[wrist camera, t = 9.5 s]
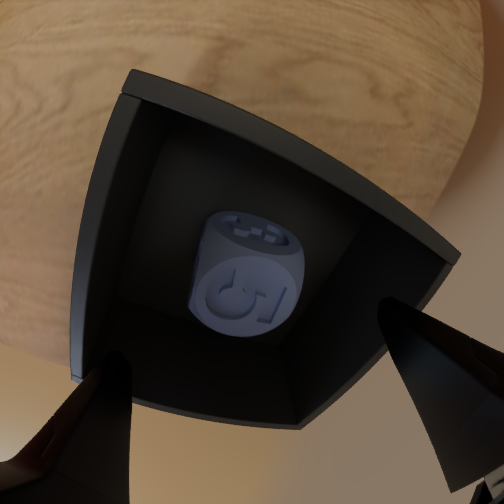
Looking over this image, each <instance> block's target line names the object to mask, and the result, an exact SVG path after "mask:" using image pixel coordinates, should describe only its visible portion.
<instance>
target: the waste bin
mask: <svg viewBox="0 0 504 504" xmlns="http://www.w3.org/2000/svg"><path fill="white" fill-rule="evenodd" d="M121 92H122V93H121V94H120V95H119V97H118V99H117V102H116V104H115V107H114V109H113V112H112V114H111V117H110V120H109V122H108V125H107V128H106V131H105V134H104V136H103V139H102V142H101V145H100V149H99V152H98V155H97V158H96V162H95V165H94V169H93V172H92V176H91V180H90V183H89V187H88V192H87V196H86V200H85V205H84V209H83V214H82V219H81V224H80V230H79V235H78V242H77V248H76V255H75V263H74V272H73V281H72V293H71V310H70V367H71V380H72V381H74V382H77V383H79V384H80V383H81V382H82V381H83V380H84V379H85V377H86V376H87V375H88V374H89V373H90V372H91V371H92V370H93V368H94V367H95V366H96V365H97V364H98V363H99V362H100V361H101V360H102V358H103V357H104V356H105V355H106V354H107V353H108V352H109V351H113V350H120V351H121V352H122V353H123V355H124V356H125V358H126V359H127V361H128V362H129V363H130V365H131V368H132V403H135V404H138V405H142V406H145V407H149V408H153V409H156V410H160V411H165V412H168V413H173V414H177V415H181V416H186V417H191V418H196V419H201V420H207V421H213V422H219V423H226V424H233V425H241V426H250V427H261V428H273V429H290V430H301V429H302V428H303V427H305V426H306V425H307V424H308V423H310V422H311V421H312V420H314V419H315V418H316V417H317V416H318V415H320V414H321V413H322V412H323V411H325V410H326V409H327V408H328V407H329V406H331V405H332V404H333V403H334V402H335V401H337V400H338V399H339V398H340V397H341V396H342V395H343V394H344V393H346V392H347V391H348V390H349V389H350V388H351V387H352V386H353V385H354V384H355V383H356V382H357V381H358V380H360V379H361V378H362V377H363V376H364V375H365V374H366V373H367V372H368V371H369V370H370V369H371V368H372V367H373V366H374V365H375V364H376V363H377V362H378V361H379V359H381V357H382V356H383V355H384V354H385V353H386V352H387V351H388V347H387V345H386V342H385V340H384V337H383V335H382V332H381V330H380V327H379V325H378V322H377V313H378V307H379V301H380V300H381V299H383V298H386V297H389V296H391V297H394V298H396V299H398V300H400V301H402V302H404V303H406V304H408V305H410V306H412V307H414V308H415V309H417V310H419V311H422V310H423V309H424V308H425V306H426V305H427V304H428V302H429V301H430V300H431V298H432V297H433V296H434V294H435V293H436V291H437V290H438V289H439V287H440V286H441V284H442V283H443V282H444V280H445V278H446V277H447V276H448V274H449V273H450V271H451V270H452V268H453V267H452V266H454V265H455V264H456V262H457V261H458V259H459V258H460V256H461V253H460V252H459V251H458V250H457V249H456V248H455V247H454V246H453V245H452V244H450V243H449V242H448V241H447V240H446V239H445V238H443V237H442V236H441V235H440V234H439V233H438V232H437V231H435V230H434V229H433V228H432V227H431V226H429V225H428V224H427V223H426V222H424V221H423V220H422V219H421V218H420V217H418V216H417V215H416V214H414V213H413V212H412V211H411V210H409V209H408V208H407V207H405V206H404V205H403V204H401V203H400V202H399V201H397V200H396V199H395V198H393V197H392V196H391V195H389V194H388V193H386V192H385V191H384V190H382V189H381V188H379V187H378V186H377V185H375V184H374V183H372V182H371V181H369V180H368V179H366V178H365V177H363V176H362V175H360V174H359V173H357V172H356V171H354V170H353V169H351V168H350V167H348V166H346V165H345V164H343V163H342V162H340V161H338V160H337V159H335V158H334V157H332V156H330V155H329V154H327V153H325V152H324V151H322V150H320V149H318V148H317V147H315V146H313V145H312V144H310V143H308V142H306V141H304V140H303V139H301V138H299V137H297V136H295V135H294V134H292V133H290V132H288V131H286V130H284V129H282V128H280V127H278V126H276V125H274V124H272V123H270V122H268V121H266V120H264V119H262V118H260V117H258V116H256V115H254V114H252V113H250V112H248V111H245V110H243V109H241V108H239V107H237V106H234V105H232V104H230V103H228V102H225V101H223V100H221V99H218V98H216V97H213V96H211V95H208V94H206V93H203V92H201V91H198V90H196V89H193V88H190V87H188V86H185V85H182V84H179V83H177V82H174V81H171V80H168V79H165V78H162V77H159V76H156V75H153V74H149V73H146V72H143V71H139V70H136V69H131V70H130V72H129V74H128V76H127V79H126V81H125V83H124V85H123V87H122V90H121ZM222 211H236V212H243V213H248V214H252V215H256V216H259V217H262V218H265V219H267V220H270V221H272V222H274V223H276V224H278V225H280V226H282V227H284V228H285V229H287V230H288V231H289V232H291V233H292V234H293V235H294V236H295V237H296V238H297V239H298V240H299V242H300V244H301V246H302V249H303V253H304V262H305V268H304V278H303V284H302V289H301V292H300V296H299V299H298V301H297V304H296V306H295V308H294V310H293V312H292V313H291V315H290V316H289V317H288V318H287V319H286V320H285V321H284V322H283V323H281V324H280V325H279V326H277V327H276V328H274V329H272V330H270V331H268V332H265V333H262V334H259V335H255V336H247V337H238V336H230V335H226V334H222V333H220V332H217V331H215V330H213V329H211V328H209V327H208V326H206V325H205V324H203V323H202V322H201V321H200V320H199V319H198V318H196V316H195V315H194V314H193V313H192V312H191V310H190V309H189V308H188V297H189V290H190V284H191V278H192V273H193V268H194V263H195V258H196V254H197V249H198V245H199V241H200V237H201V233H202V230H203V226H204V223H205V220H206V218H208V217H210V216H211V215H213V214H215V213H218V212H222Z"/></svg>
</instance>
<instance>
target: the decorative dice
mask: <svg viewBox="0 0 504 504" xmlns="http://www.w3.org/2000/svg"><path fill="white" fill-rule="evenodd" d="M304 268H305V262H304V253H303V249H302V246H301V244H300V242H299V240H298V239H297V238H296V237H295V236H294V235H293V234H292V233H291V232H289V231H288V230H287V229H285V228H284V227H282V226H280V225H278V224H276V223H274V222H272V221H270V220H267V219H265V218H262V217H259V216H256V215H252V214H248V213H243V212H236V211H222V212H218V213H215V214H213V215H211V216H210V217H208V218H206V220H205V223H204V226H203V230H202V233H201V237H200V241H199V245H198V249H197V254H196V258H195V263H194V268H193V273H192V278H191V284H190V290H189V297H188V308H189V309H190V310H191V312H192V313H193V314H194V315H195V316H196V318H198V319H199V320H200V321H201V322H202V323H203V324H205V325H206V326H208V327H209V328H211V329H213V330H215V331H217V332H220V333H222V334H226V335H230V336H238V337H247V336H255V335H259V334H262V333H265V332H268V331H270V330H272V329H274V328H276V327H277V326H279V325H280V324H281V323H283V322H284V321H285V320H286V319H287V318H288V317H289V316H290V315H291V313H292V312H293V310H294V308H295V306H296V304H297V301H298V299H299V296H300V292H301V289H302V284H303V278H304Z"/></svg>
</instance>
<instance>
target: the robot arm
mask: <svg viewBox="0 0 504 504" xmlns="http://www.w3.org/2000/svg"><path fill="white" fill-rule="evenodd" d="M377 322H378V325H379V327H380V330H381V332H382V335H383V337H384V340H385V342H386V345H387V347H388V350H389V353H390V355H391V357H392V359H393V361H394V364H395V366H396V368H397V369H398V372H399V373H400V375H401V377H402V379H403V381H404V383H405V386H406V387H407V390H408V392H409V394H410V396H411V398H412V400H413V402H414V404H415V406H416V409H417V411H418V413H419V415H420V417H421V419H422V422H423V424H424V426H425V428H426V431H427V433H428V435H429V438H430V440H431V443H432V445H433V447H434V449H435V453H436V455H437V458H438V460H439V463H440V465H441V468H442V471H443V473H444V476H445V479H446V481H447V484H448V487H449V490H450V492H451V493H453V492H455V491H457V490H459V489H462V488H463V487H465V486H467V485H469V484H471V483H473V482H475V481H477V480H479V479H481V478H482V477H484V479H485V480H483V481H482V482H481V483H480V484H479V485H477V486H476V489H475V492H474V495H473V497H472V500H471V502H470V504H504V353H502V352H500V351H497V350H495V349H493V348H491V347H489V346H487V345H485V344H483V343H481V342H479V341H477V340H475V339H473V338H470V337H469V336H467V335H466V334H464V333H462V332H460V331H458V330H456V329H454V328H452V327H450V326H448V325H447V324H445V323H443V322H441V321H439V320H437V319H435V318H433V317H431V316H429V315H427V314H425V313H423V312H421V311H419V310H417V309H415V308H414V307H412V306H410V305H408V304H406V303H404V302H402V301H400V300H398V299H396V298H394V297H391V296H389V297H386V298H383V299H381V300H380V301H379V307H378V313H377ZM131 415H132V368H131V365H130V363H129V362H128V361H127V359H126V358H125V356H124V355H123V353H122V352H121V351H120V350H113V351H109V352H108V353H107V354H106V355H105V356H104V357H103V358H102V360H101V361H100V362H99V363H98V364H97V365H96V366H95V367H94V368H93V370H92V371H91V372H90V373H89V374H88V375H87V376H86V377H85V379H84V380H83V381H82V382H81V383H80V384H79V385H78V387H77V388H76V389H75V390H74V391H73V392H72V394H71V395H70V396H69V397H68V398H67V399H66V400H65V402H64V403H63V404H62V405H61V406H60V408H59V409H58V410H57V411H56V412H55V413H54V416H52V417H51V418H50V419H49V420H48V422H47V423H46V424H45V425H44V426H43V427H42V429H41V430H40V431H39V432H38V433H37V434H36V435H35V436H34V437H33V438H32V440H30V441H29V442H28V443H27V445H25V447H24V448H22V450H21V451H20V452H19V453H18V454H17V455H16V456H14V457H13V458H12V459H10V460H8V461H4V462H0V504H129V503H130V502H129V452H130V430H131Z"/></svg>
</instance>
